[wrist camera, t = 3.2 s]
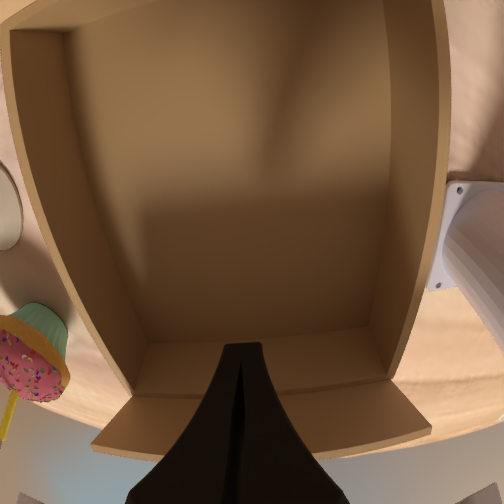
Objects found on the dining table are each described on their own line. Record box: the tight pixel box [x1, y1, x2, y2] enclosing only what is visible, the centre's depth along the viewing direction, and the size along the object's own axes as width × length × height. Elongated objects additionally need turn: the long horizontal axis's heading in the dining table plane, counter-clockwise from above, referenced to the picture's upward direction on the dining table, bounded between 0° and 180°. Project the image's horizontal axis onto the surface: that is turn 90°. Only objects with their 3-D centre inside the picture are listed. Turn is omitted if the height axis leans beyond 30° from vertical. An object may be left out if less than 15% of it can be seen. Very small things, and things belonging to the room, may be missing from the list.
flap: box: [91, 379, 432, 462], centre depth 14 cm, size 17×6×1 cm
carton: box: [0, 0, 451, 399], centre depth 13 cm, size 17×22×5 cm
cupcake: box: [0, 303, 70, 449], centre depth 16 cm, size 9×8×12 cm
